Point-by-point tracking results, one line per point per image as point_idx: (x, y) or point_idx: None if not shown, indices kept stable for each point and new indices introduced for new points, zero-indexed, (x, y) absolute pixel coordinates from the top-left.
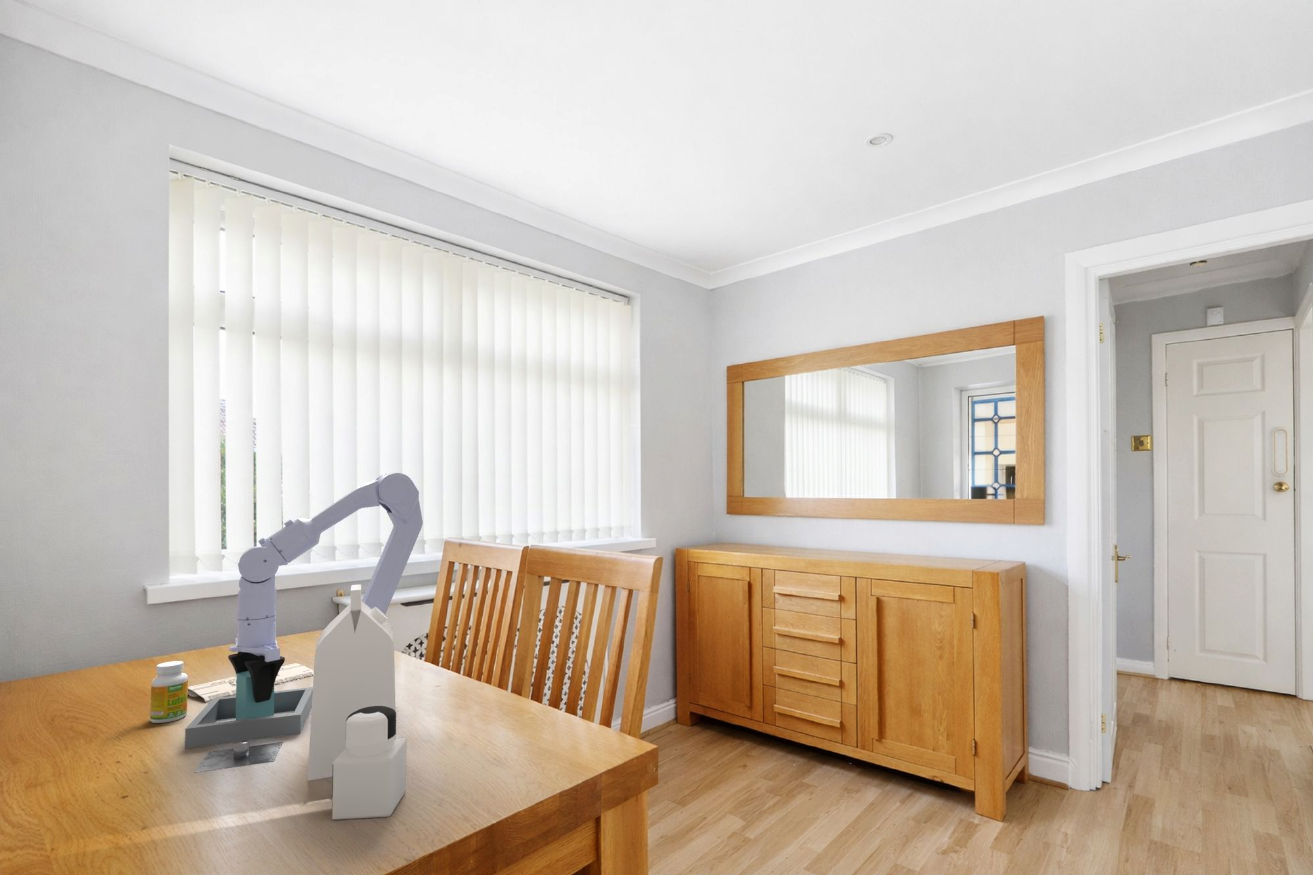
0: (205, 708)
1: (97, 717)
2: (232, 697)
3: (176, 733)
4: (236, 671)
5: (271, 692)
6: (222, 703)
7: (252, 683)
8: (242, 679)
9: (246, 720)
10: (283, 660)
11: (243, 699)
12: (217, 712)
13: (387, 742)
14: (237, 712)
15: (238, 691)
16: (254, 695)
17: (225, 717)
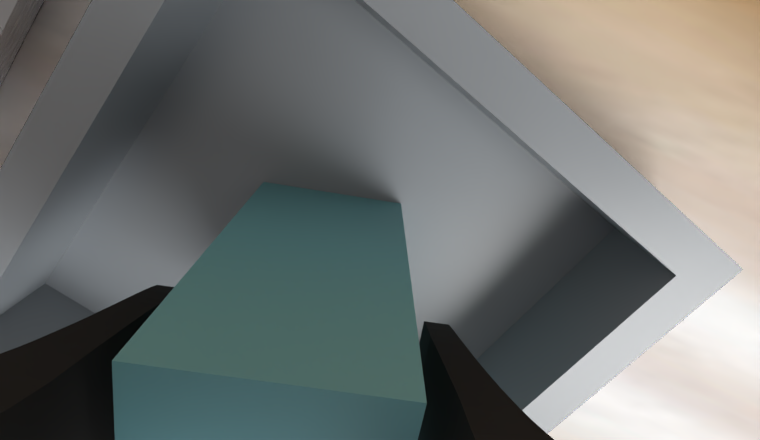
0: (577, 130)
1: None
2: (625, 330)
3: (674, 22)
4: (514, 437)
5: None
6: (645, 274)
7: (83, 351)
8: (244, 353)
9: (36, 134)
10: None
11: (249, 256)
12: (612, 223)
13: None
14: (373, 229)
15: (360, 293)
16: (135, 301)
17: (593, 250)
